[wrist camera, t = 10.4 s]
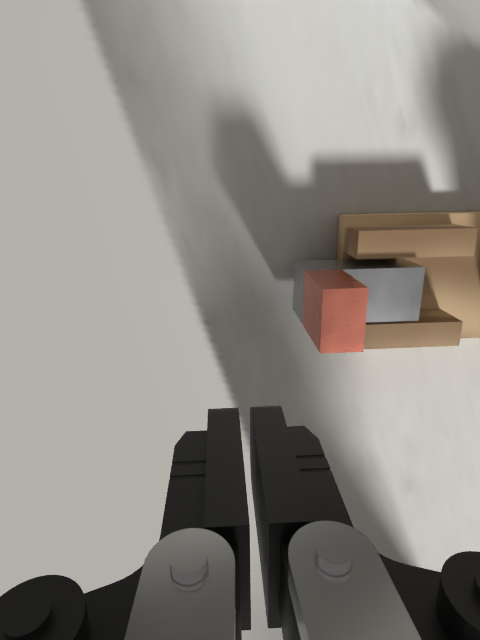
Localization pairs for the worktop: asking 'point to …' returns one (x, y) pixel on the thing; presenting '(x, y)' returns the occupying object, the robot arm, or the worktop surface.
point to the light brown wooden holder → (440, 272)
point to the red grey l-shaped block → (354, 298)
